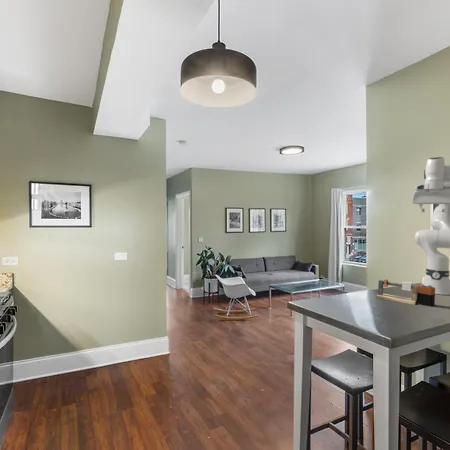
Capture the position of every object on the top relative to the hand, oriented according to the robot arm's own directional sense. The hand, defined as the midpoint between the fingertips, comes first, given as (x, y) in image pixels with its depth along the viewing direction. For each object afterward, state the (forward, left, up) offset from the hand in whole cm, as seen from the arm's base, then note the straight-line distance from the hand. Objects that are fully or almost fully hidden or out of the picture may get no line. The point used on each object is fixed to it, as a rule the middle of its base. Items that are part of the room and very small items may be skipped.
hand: (433, 212), depth 166 cm
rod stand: (+14, -13, -48) cm, 52 cm away
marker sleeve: (+14, -8, -42) cm, 45 cm away
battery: (+14, 0, -48) cm, 50 cm away
